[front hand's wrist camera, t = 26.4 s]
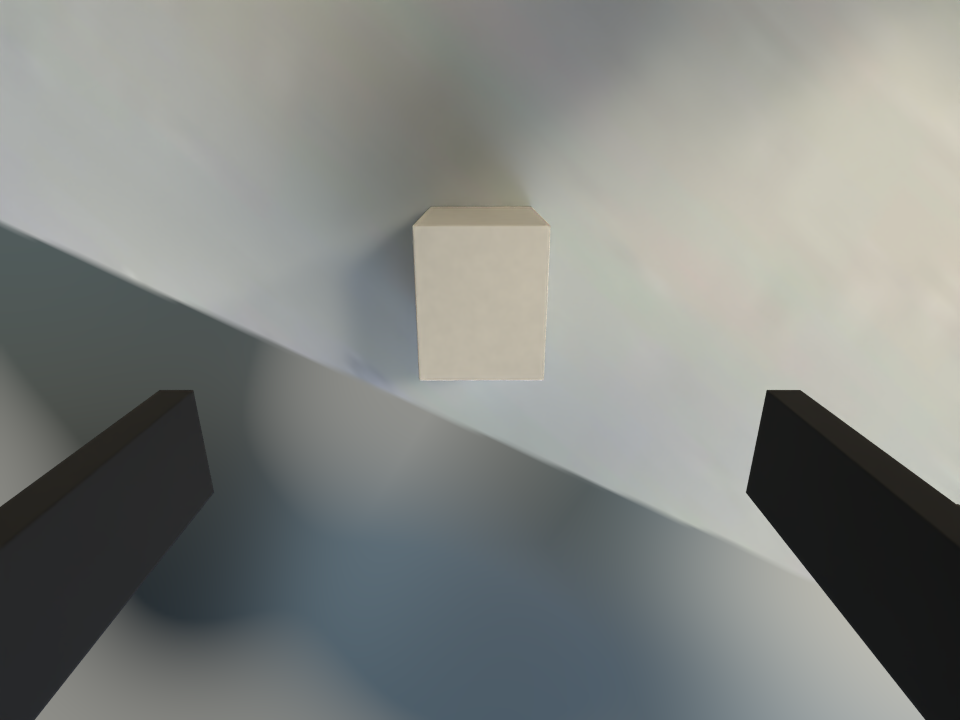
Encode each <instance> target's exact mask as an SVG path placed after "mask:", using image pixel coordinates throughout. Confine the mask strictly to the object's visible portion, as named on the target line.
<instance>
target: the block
mask: <svg viewBox="0 0 960 720" xmlns="http://www.w3.org/2000/svg"><path fill="white" fill-rule="evenodd" d="M412 230H413V252H414V275H415V297H416V320H417V343H418V365H419V380H420V381H430V380H544V364H545V341H546V318H547V295H548V272H549V249H550V225H549V224H548V223H547V222H546V221H545V220H544V219H543V218H542V217H541V216H540V215H539V214H538V213H537V212H536V211H535V210H534V209H533V208H532V207H430V208H429V209H428V210H427V211H426V212H425V213H424V214H423V215H422V216H421V217H420V218H419V220H418V221H417V222H416V223H415V224H414V225H413V226H412Z"/></svg>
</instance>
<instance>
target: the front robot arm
mask: <svg viewBox="0 0 960 720" xmlns="http://www.w3.org/2000/svg"><path fill="white" fill-rule="evenodd" d="M213 493H214V490H213V485H212V480H211V475H210V471H209V466H208V461H207V456H206V451H205V446H204V441H203V436H202V431H201V426H200V421H199V417H198V412H197V406H196V402H195V397H194V392H193V390H159V391H158V392H156V393H155V394H154V395H152V396H151V397H150V398H148V399H147V400H146V401H144V402H143V403H142V404H140V405H139V406H137V407H136V408H135V409H133V410H132V411H131V412H129V413H128V414H126V415H125V416H124V417H122V418H121V419H120V420H118V421H117V422H116V423H114V424H113V425H111V426H110V427H109V428H107V429H106V430H105V431H103V432H102V433H101V434H99V435H98V436H96V437H95V438H94V439H92V440H91V441H90V442H88V443H87V444H85V445H84V446H83V447H81V448H80V449H79V450H77V451H76V452H75V453H73V454H72V455H71V456H69V457H68V458H66V459H65V460H64V461H62V462H61V463H60V464H58V465H57V466H56V467H54V468H53V469H51V470H50V471H49V472H47V473H46V474H45V475H43V476H42V477H40V478H39V479H38V480H36V481H35V482H34V483H32V484H31V485H30V486H28V487H27V488H25V489H24V490H23V491H21V492H20V493H19V494H17V495H16V496H15V497H13V498H12V499H10V500H9V501H8V502H6V503H5V504H4V505H2V506H1V507H0V720H35V719H36V717H37V716H38V715H39V714H40V712H41V711H42V710H43V709H44V707H45V706H46V705H47V703H48V702H49V701H50V700H51V698H52V697H53V696H54V695H55V693H56V692H57V691H58V690H59V688H60V687H61V686H62V684H63V683H64V682H65V681H66V679H67V678H68V677H69V675H70V674H71V673H72V672H73V671H74V669H75V668H76V667H77V665H78V664H79V663H80V662H81V660H82V659H83V658H84V657H85V655H86V654H87V653H88V652H89V650H90V649H91V648H92V646H93V645H94V644H95V643H96V641H97V640H98V639H99V637H100V636H101V635H102V634H103V632H104V631H105V630H106V629H107V627H108V626H109V625H110V624H111V622H112V621H113V620H114V619H115V617H116V616H117V615H118V613H119V612H120V611H121V610H122V608H123V607H124V606H125V605H126V603H127V602H128V601H129V600H130V598H131V597H132V596H133V594H134V593H135V592H136V591H137V589H138V588H139V587H140V586H141V584H142V583H143V582H144V581H145V579H146V578H147V577H148V575H149V574H150V573H151V572H152V570H153V569H154V568H155V567H156V565H157V564H158V563H159V562H160V560H161V559H162V558H163V556H164V555H165V554H166V553H167V551H168V550H169V549H170V548H171V546H172V545H173V544H174V543H175V541H176V540H177V539H178V537H179V536H180V535H181V534H182V532H183V531H184V530H185V529H186V527H187V526H188V525H189V524H190V522H191V521H192V520H193V518H194V517H195V516H196V515H197V513H198V512H199V511H200V510H201V508H202V507H203V506H204V504H205V503H206V502H207V501H208V499H209V498H210V497H211V496H212V494H213ZM746 493H747V494H748V496H749V497H750V498H751V499H752V501H753V502H754V503H755V505H756V506H757V507H758V508H759V510H760V511H761V512H762V513H763V515H764V516H765V517H766V518H767V520H768V521H769V522H770V524H771V525H772V526H773V527H774V529H775V530H776V531H777V532H778V534H779V535H780V536H781V537H782V539H783V540H784V541H785V543H786V544H787V545H788V546H789V548H790V549H791V550H792V551H793V553H794V554H795V555H796V556H797V558H798V559H799V560H800V562H801V563H802V564H803V565H804V567H805V568H806V569H807V570H808V572H809V573H810V574H811V575H812V577H813V578H814V579H815V581H816V582H817V583H818V584H819V586H820V587H821V588H822V589H823V591H824V592H825V593H826V594H827V596H828V597H829V598H830V600H831V601H832V602H833V603H834V605H835V606H836V607H837V608H838V610H839V611H840V612H841V613H842V615H843V616H844V617H845V619H846V620H847V621H848V622H849V624H850V625H851V626H852V627H853V629H854V630H855V631H856V632H857V634H858V635H859V636H860V638H861V639H862V640H863V641H864V643H865V644H866V645H867V646H868V648H869V649H870V650H871V651H872V653H873V654H874V655H875V657H876V658H877V659H878V660H879V662H880V663H881V664H882V665H883V667H884V668H885V669H886V671H887V672H888V673H889V674H890V676H891V677H892V678H893V679H894V681H895V682H896V683H897V684H898V686H899V687H900V688H901V690H902V691H903V692H904V693H905V695H906V696H907V697H908V698H909V700H910V701H911V702H912V703H913V705H914V706H915V707H916V708H917V710H918V711H919V712H920V713H921V715H922V716H923V717H924V719H925V720H960V505H959V504H955V503H954V502H952V501H951V500H950V499H948V498H947V497H945V496H944V495H943V494H941V493H940V492H939V491H937V490H936V489H935V488H933V487H932V486H930V485H929V484H928V483H926V482H925V481H924V480H922V479H921V478H920V477H918V476H917V475H915V474H914V473H913V472H911V471H910V470H909V469H907V468H906V467H905V466H903V465H902V464H900V463H899V462H898V461H896V460H895V459H894V458H892V457H891V456H890V455H888V454H887V453H885V452H884V451H883V450H881V449H880V448H879V447H877V446H876V445H875V444H873V443H872V442H870V441H869V440H868V439H866V438H865V437H864V436H862V435H861V434H859V433H858V432H857V431H855V430H854V429H853V428H851V427H850V426H849V425H847V424H846V423H844V422H843V421H842V420H840V419H839V418H838V417H836V416H835V415H834V414H832V413H831V412H829V411H828V410H827V409H825V408H824V407H823V406H821V405H820V404H819V403H817V402H816V401H814V400H813V399H812V398H810V397H809V396H808V395H806V394H805V393H804V392H802V391H801V390H767V392H766V397H765V401H764V406H763V411H762V416H761V421H760V426H759V431H758V436H757V441H756V446H755V451H754V456H753V461H752V466H751V470H750V475H749V480H748V485H747V490H746Z"/></svg>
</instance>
